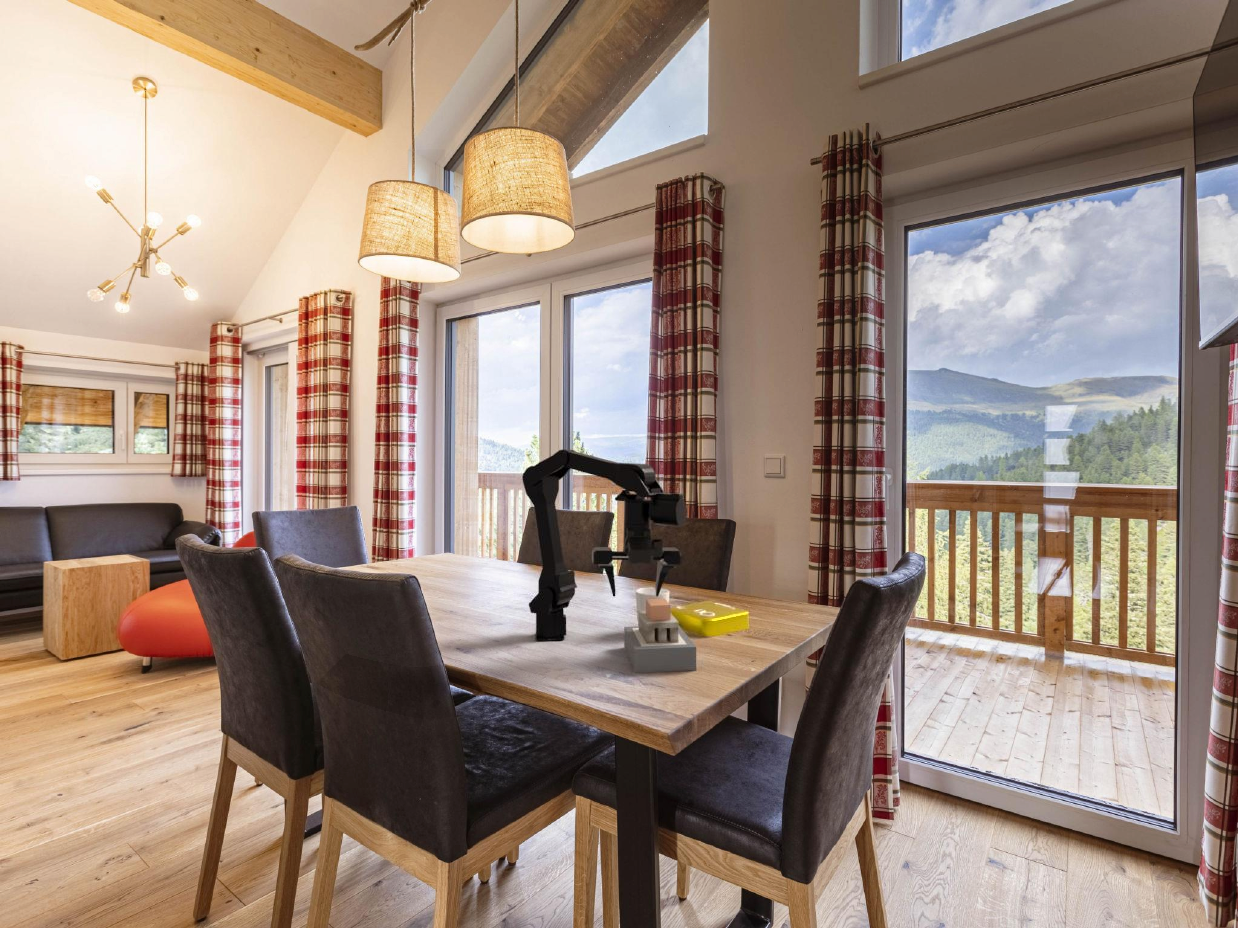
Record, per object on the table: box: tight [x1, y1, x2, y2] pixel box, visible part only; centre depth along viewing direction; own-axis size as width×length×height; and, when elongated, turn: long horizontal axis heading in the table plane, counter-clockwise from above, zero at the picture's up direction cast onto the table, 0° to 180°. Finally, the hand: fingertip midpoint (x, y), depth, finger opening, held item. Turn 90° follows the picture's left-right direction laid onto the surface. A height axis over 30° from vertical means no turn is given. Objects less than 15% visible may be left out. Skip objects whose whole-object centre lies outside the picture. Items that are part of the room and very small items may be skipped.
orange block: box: [646, 598, 671, 621], centre depth 127 cm, size 4×6×3 cm, turn 7°
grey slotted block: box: [639, 611, 678, 644], centre depth 127 cm, size 6×10×4 cm, turn 7°
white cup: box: [635, 587, 670, 626], centre depth 146 cm, size 8×8×10 cm
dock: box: [623, 625, 697, 674], centre depth 128 cm, size 12×16×5 cm
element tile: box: [670, 600, 750, 638], centre depth 152 cm, size 15×15×5 cm
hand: (635, 596), depth 132 cm, fingers open, 9 cm apart
